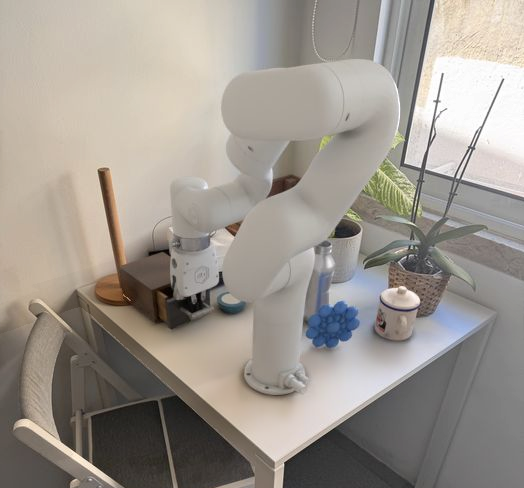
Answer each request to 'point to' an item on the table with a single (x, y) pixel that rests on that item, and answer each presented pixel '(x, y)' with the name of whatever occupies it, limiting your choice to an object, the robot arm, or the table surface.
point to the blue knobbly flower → (332, 324)
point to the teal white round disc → (229, 303)
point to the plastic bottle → (319, 280)
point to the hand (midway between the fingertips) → (196, 314)
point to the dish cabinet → (145, 282)
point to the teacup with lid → (396, 313)
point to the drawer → (178, 308)
